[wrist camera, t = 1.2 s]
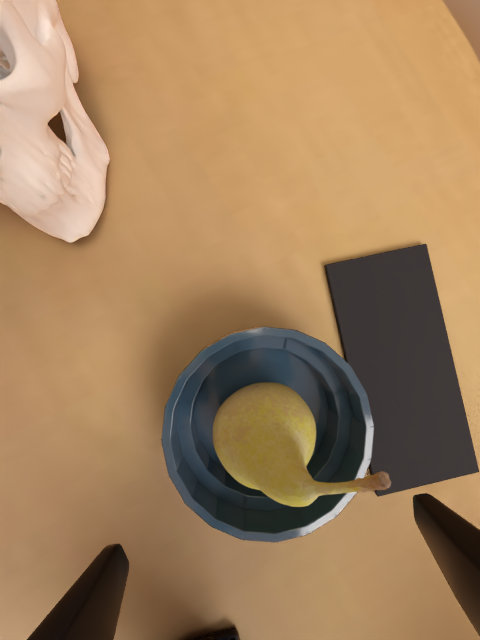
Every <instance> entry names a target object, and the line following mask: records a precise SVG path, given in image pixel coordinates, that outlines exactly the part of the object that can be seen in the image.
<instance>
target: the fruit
mask: <svg viewBox="0 0 480 640" xmlns="http://www.w3.org/2000/svg"><path fill="white" fill-rule="evenodd" d="M315 442H316V425H315V420H314V417H313V414H312V412H311V411H310V409H309V407H308V406H307V404H306V403H305V402H304V400H303V399H302V398H301V397H300V396H299V395H298V394H297V393H296V392H295V391H294V390H293V389H291V388H289V387H288V386H286V385H283V384H280V383H274V382H261V383H254V384H251V385H248V386H245V387H243V388H241V389H239V390H238V391H236V392H235V393H233V394H232V395H231V396H230V397H228V398H227V399H226V400H225V401H224V403H223V404H222V405H221V407H220V408H219V409H218V411H217V413H216V416H215V419H214V423H213V444H214V448H215V451H216V453H217V456H218V458H219V459H220V461H221V463H222V465H223V466H224V467H225V469H226V470H227V471H228V473H229V474H230V475H231V476H232V477H233V478H234V479H235V480H237V481H238V482H239V483H241V484H243V485H244V486H247V487H249V488H252V489H256V490H261V491H262V492H263V493H264V494H266V495H267V496H268V497H270V498H271V499H273V500H275V501H277V502H279V503H281V504H284V505H288V506H292V507H304V506H308V505H310V504H311V503H313V502H314V501H315V500H316V499H317V497H318V496H321V495H327V494H341V493H353V492H366V491H373V490H386V489H388V488H389V487H390V485H391V481H390V479H389V474H388V473H386V472H384V471H381V472H378V473H376V474H374V475H371V476H367V477H364V478H357V479H355V480H353V481H348V482H340V483H325V482H317V481H315V480H313V479H312V477H311V475H310V474H309V473H308V471H307V468H306V466H307V464H308V462H309V460H310V459H311V456H312V454H313V451H314V447H315Z"/></svg>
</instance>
